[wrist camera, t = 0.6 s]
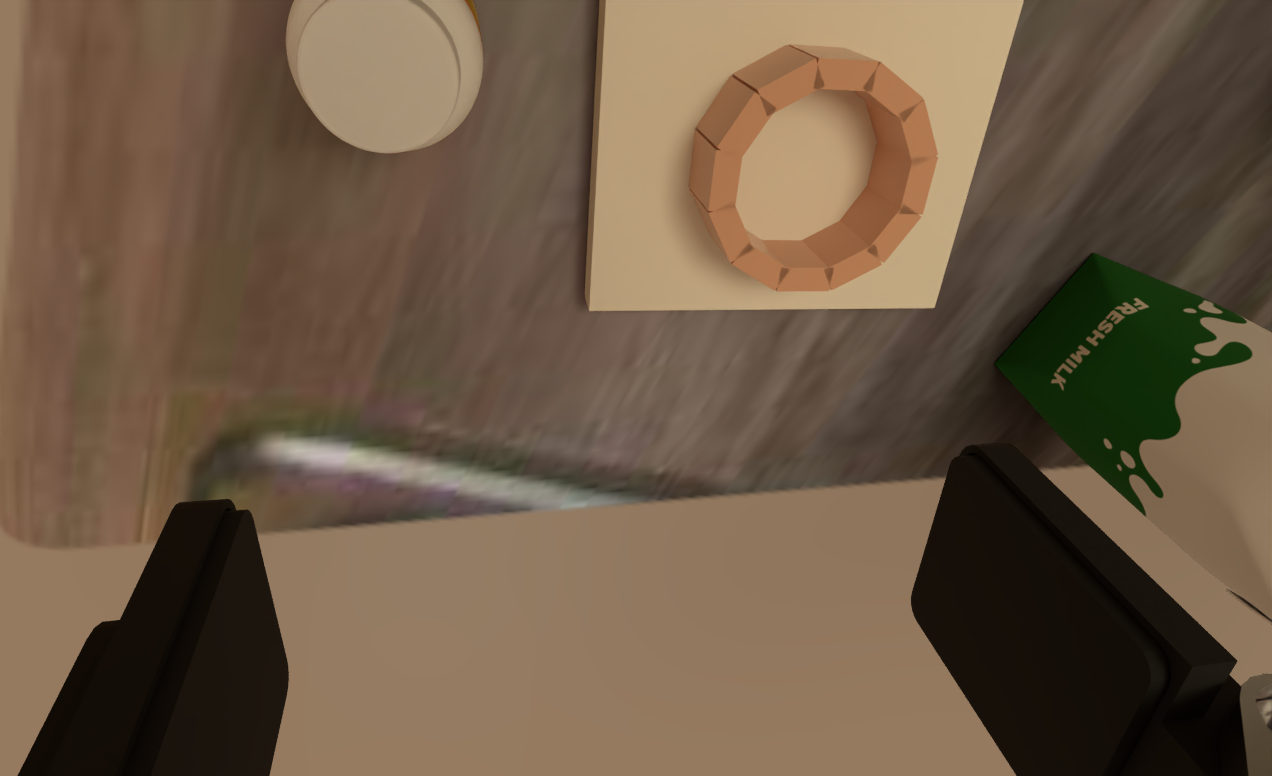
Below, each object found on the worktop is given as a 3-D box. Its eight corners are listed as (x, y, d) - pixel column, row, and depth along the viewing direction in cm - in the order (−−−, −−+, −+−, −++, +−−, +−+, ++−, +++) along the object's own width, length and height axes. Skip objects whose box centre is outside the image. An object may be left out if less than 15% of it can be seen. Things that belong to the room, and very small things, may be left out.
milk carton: (1073, 433, 45) (1438, 752, 28) (967, 368, 41) (1316, 692, 25) (1196, 307, 42) (1686, 580, 25) (1094, 225, 38) (1591, 481, 21)
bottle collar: (705, 39, 29) (728, 52, 27) (921, 52, 31) (962, 65, 28) (680, 262, 34) (698, 291, 31) (871, 262, 35) (902, 291, 33)
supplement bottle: (329, -86, 27) (272, -78, 18) (492, -35, 28) (506, -7, 20) (312, 81, 29) (255, 154, 21) (464, 119, 31) (466, 200, 22)
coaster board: (601, -41, 29) (607, -37, 27) (1002, -9, 32) (1025, -5, 31) (584, 296, 35) (589, 310, 34) (918, 294, 38) (934, 307, 37)
